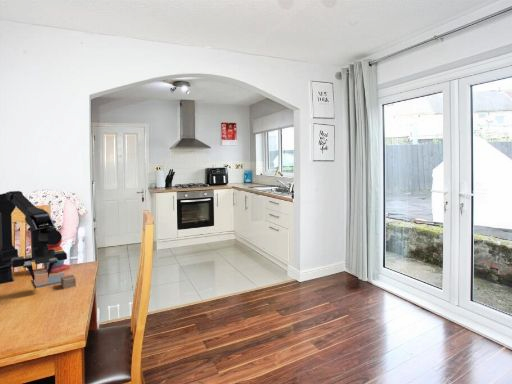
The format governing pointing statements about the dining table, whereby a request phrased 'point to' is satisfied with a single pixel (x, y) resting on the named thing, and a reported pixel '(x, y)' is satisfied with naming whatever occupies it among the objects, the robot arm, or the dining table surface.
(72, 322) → the dining table surface
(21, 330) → the dining table surface
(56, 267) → the stacking bear
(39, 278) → the terracotta brick
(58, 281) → the baseplate
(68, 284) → the walnut brick
